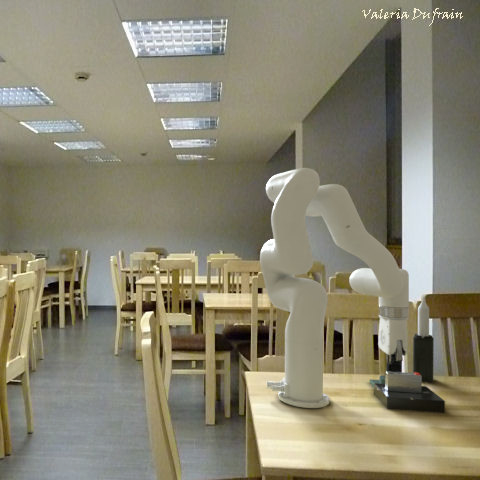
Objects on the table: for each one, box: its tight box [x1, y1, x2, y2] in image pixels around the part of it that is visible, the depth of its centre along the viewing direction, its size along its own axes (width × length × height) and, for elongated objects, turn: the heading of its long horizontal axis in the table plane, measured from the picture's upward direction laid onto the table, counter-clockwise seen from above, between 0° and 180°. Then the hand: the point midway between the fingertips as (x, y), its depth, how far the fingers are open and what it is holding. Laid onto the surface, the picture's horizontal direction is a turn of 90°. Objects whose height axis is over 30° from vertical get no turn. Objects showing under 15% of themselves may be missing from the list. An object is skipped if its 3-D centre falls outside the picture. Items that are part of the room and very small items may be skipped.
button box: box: [369, 374, 385, 388], centre depth 124 cm, size 10×8×3 cm
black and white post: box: [412, 296, 435, 384], centre depth 133 cm, size 5×5×25 cm
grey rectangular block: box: [384, 371, 423, 393], centre depth 113 cm, size 8×2×5 cm, turn 80°
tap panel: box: [373, 383, 446, 414], centre depth 113 cm, size 14×12×3 cm
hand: (393, 377), depth 124 cm, fingers closed
